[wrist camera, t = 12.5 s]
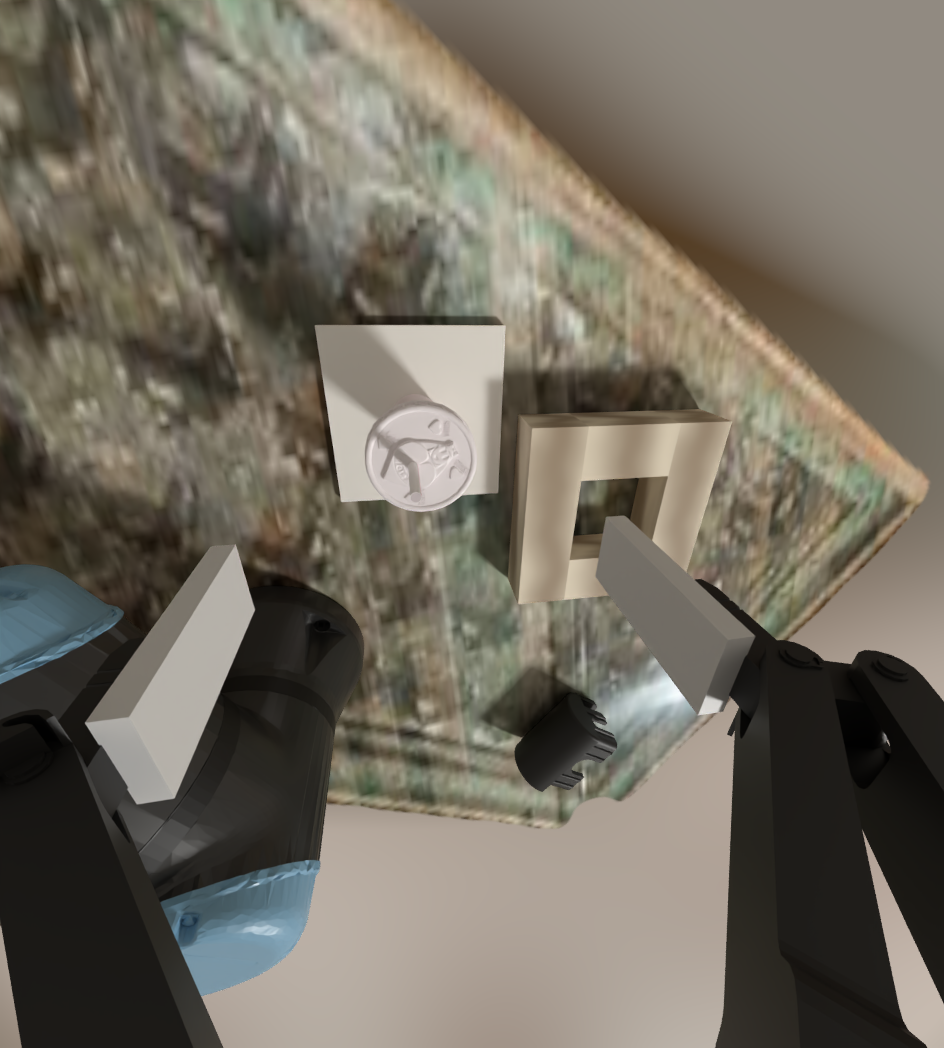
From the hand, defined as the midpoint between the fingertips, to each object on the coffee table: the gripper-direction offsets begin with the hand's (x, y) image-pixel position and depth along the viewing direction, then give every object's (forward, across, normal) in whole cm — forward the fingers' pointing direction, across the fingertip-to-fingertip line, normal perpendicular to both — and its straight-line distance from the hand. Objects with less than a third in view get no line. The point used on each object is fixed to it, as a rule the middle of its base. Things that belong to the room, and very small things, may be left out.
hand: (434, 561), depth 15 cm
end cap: (+20, +16, -38) cm, 46 cm away
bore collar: (+20, +17, -8) cm, 27 cm away
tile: (+20, +1, 0) cm, 20 cm away
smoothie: (+20, 0, 0) cm, 20 cm away
